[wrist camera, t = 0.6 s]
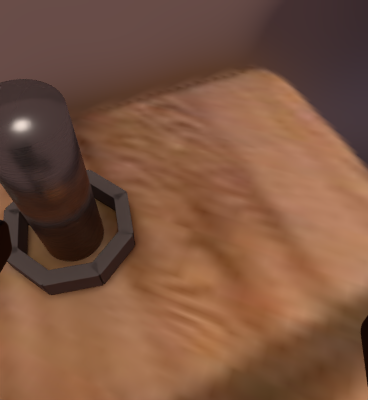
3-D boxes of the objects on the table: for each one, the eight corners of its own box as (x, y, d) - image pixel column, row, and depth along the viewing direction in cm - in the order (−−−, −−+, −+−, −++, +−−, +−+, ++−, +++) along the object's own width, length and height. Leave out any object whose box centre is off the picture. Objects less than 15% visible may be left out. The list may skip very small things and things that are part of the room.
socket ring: (78, 316, 22) (72, 308, 21) (-13, 248, 24) (-26, 236, 23) (154, 221, 27) (154, 208, 25) (70, 169, 29) (65, 154, 27)
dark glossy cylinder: (76, 272, 24) (12, 166, 13) (31, 241, 25) (-61, 119, 14) (115, 227, 26) (86, 104, 15) (72, 200, 27) (17, 67, 16)
